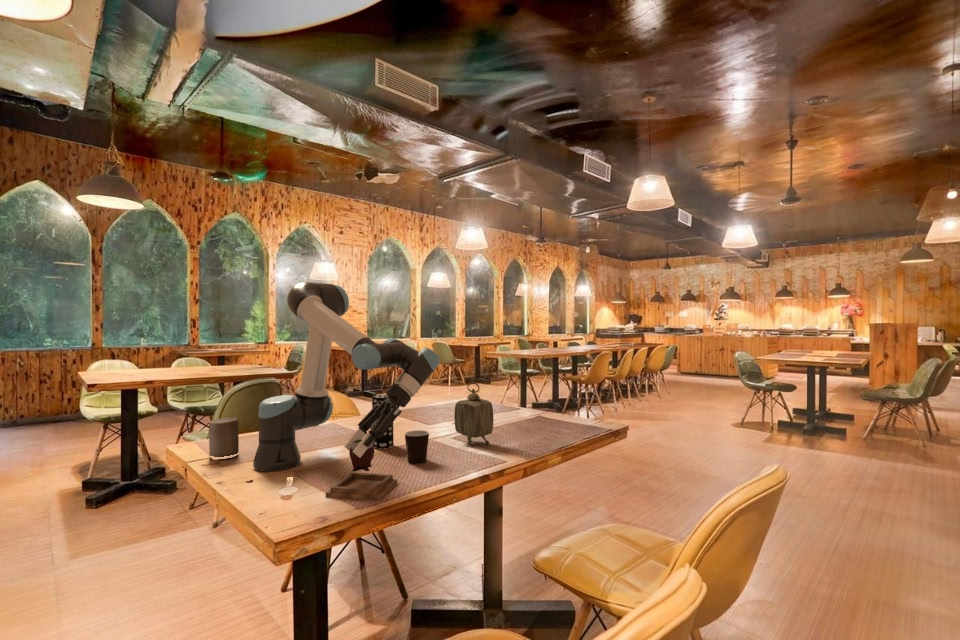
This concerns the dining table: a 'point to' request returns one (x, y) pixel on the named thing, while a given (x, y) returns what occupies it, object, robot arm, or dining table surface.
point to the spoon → (288, 489)
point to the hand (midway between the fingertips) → (351, 451)
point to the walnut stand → (362, 486)
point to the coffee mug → (416, 446)
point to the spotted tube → (388, 436)
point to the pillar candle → (223, 437)
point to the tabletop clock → (474, 416)
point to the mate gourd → (366, 458)
